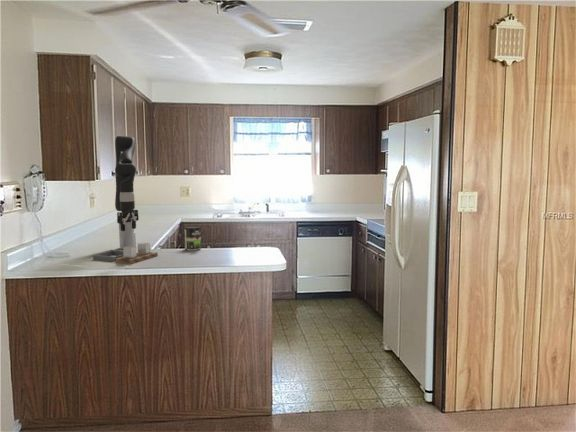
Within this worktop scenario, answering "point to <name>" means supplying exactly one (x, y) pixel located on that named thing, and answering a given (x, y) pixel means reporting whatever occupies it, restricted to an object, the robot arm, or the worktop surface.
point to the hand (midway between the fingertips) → (128, 229)
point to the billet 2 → (144, 248)
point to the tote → (108, 255)
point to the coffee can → (192, 237)
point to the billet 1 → (129, 252)
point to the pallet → (139, 258)
